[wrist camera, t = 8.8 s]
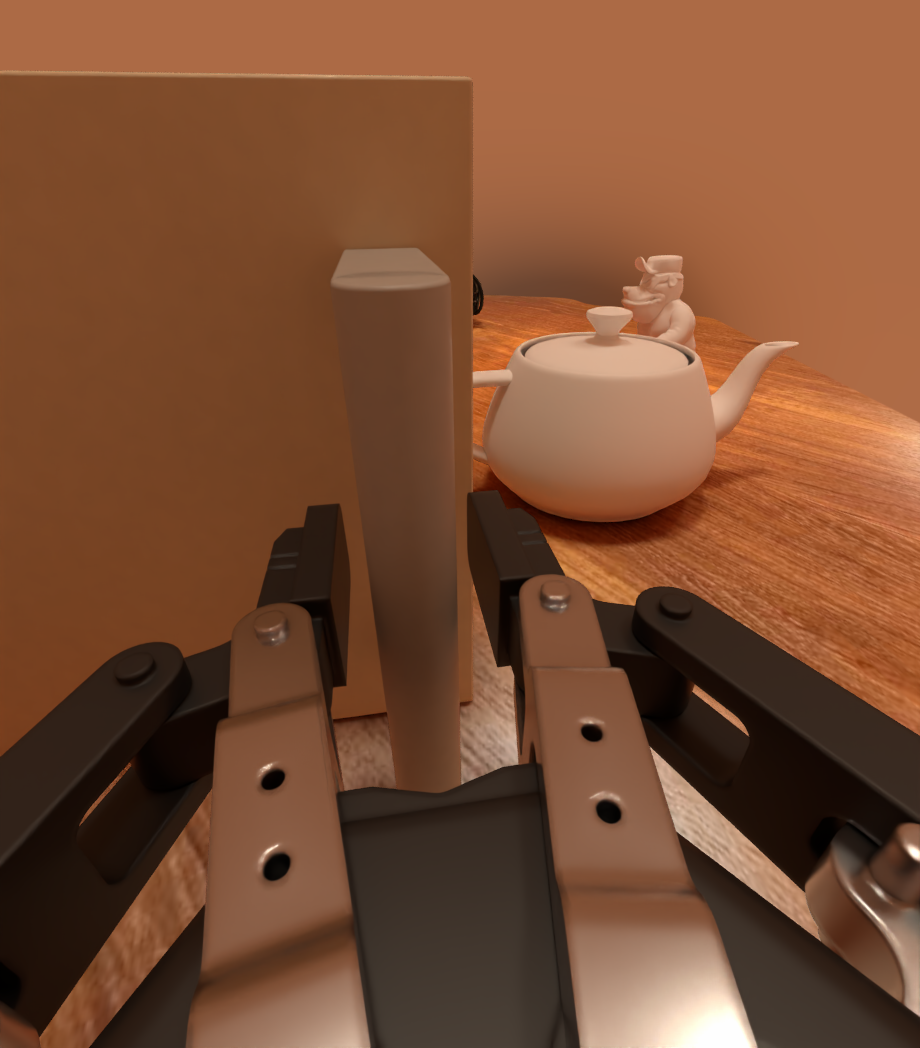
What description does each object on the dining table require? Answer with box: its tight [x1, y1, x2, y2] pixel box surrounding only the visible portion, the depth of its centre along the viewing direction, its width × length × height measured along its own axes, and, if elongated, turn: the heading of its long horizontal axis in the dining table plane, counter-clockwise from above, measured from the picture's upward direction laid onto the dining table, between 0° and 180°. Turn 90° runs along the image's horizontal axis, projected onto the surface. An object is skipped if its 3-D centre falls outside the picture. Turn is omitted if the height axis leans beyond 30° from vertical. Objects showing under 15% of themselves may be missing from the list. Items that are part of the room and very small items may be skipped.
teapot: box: [473, 306, 799, 522], centre depth 31 cm, size 22×14×11 cm, turn 98°
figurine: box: [621, 255, 696, 352], centre depth 43 cm, size 9×6×12 cm
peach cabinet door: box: [0, 71, 473, 793], centre depth 12 cm, size 7×16×18 cm, turn 99°
